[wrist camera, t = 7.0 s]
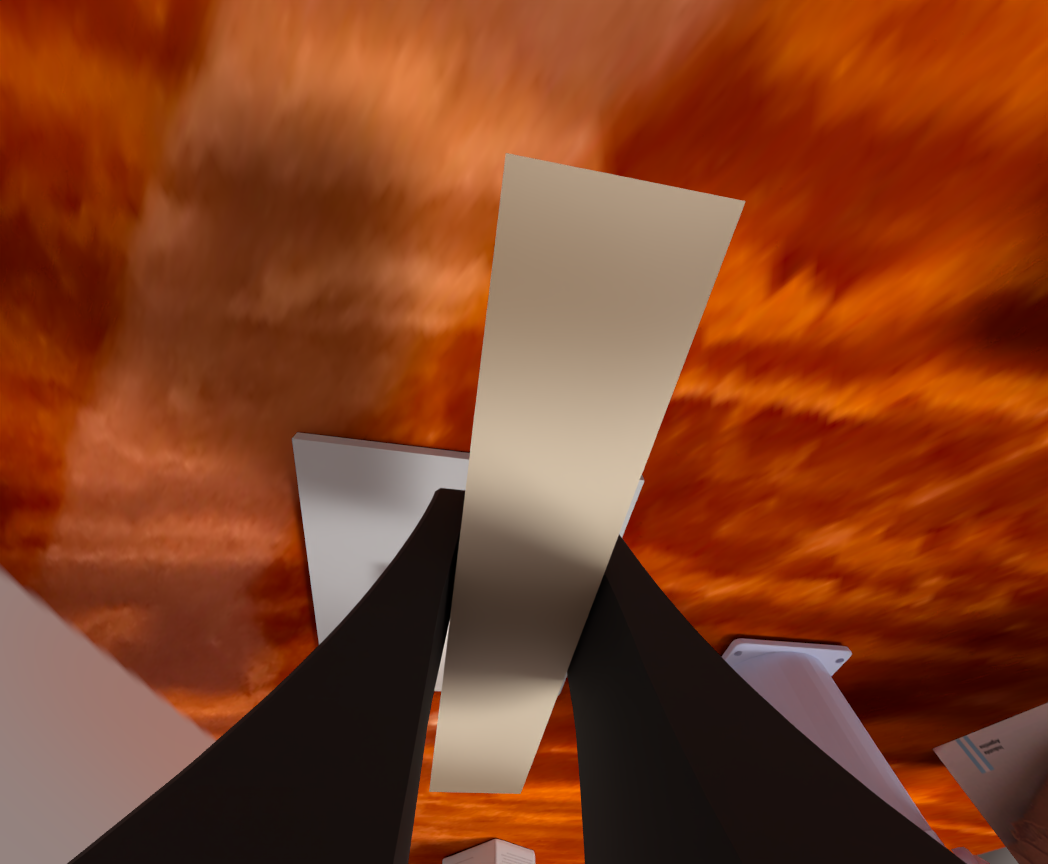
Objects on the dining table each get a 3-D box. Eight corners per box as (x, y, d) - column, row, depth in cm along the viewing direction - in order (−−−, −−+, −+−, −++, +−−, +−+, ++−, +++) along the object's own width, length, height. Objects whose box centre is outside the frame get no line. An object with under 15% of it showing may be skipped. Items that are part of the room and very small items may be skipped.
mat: (558, 687, 28) (559, 695, 28) (326, 674, 26) (323, 682, 26) (641, 473, 19) (644, 480, 19) (297, 432, 17) (291, 438, 17)
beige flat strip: (516, 623, 15) (520, 793, 11) (451, 619, 15) (429, 791, 11) (623, 193, 8) (745, 202, 4) (505, 170, 8) (506, 153, 4)
